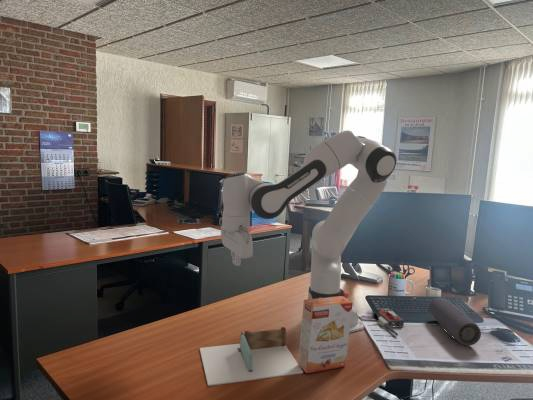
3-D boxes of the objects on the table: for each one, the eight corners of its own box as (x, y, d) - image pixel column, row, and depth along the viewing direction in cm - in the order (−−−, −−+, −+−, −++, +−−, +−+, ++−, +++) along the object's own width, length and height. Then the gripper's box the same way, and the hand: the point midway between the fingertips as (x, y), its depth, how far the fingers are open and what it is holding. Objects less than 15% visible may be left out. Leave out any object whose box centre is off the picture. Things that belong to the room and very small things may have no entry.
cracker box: (306, 375, 112) (312, 306, 110) (297, 364, 118) (302, 298, 115) (346, 367, 118) (353, 301, 115) (335, 357, 123) (341, 294, 121)
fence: (284, 343, 130) (284, 326, 129) (285, 346, 128) (286, 329, 127) (243, 348, 126) (244, 330, 125) (244, 350, 124) (245, 333, 123)
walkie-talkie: (368, 314, 157) (394, 338, 138) (368, 304, 157) (395, 327, 138) (387, 313, 159) (416, 337, 140) (388, 303, 159) (417, 325, 139)
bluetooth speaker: (481, 349, 132) (484, 321, 131) (454, 348, 132) (457, 320, 131) (449, 320, 155) (452, 296, 153) (426, 319, 155) (428, 295, 153)
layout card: (281, 340, 133) (281, 338, 133) (303, 373, 114) (303, 371, 114) (199, 349, 125) (199, 347, 125) (208, 386, 106) (208, 384, 106)
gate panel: (239, 348, 125) (240, 332, 124) (242, 348, 125) (243, 331, 125) (248, 371, 113) (249, 353, 112) (251, 370, 113) (252, 352, 112)
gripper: (258, 228, 116) (257, 272, 118) (235, 217, 135) (235, 255, 137) (238, 230, 114) (238, 275, 116) (217, 218, 132) (218, 257, 134)
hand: (236, 264), depth 126 cm, fingers closed
